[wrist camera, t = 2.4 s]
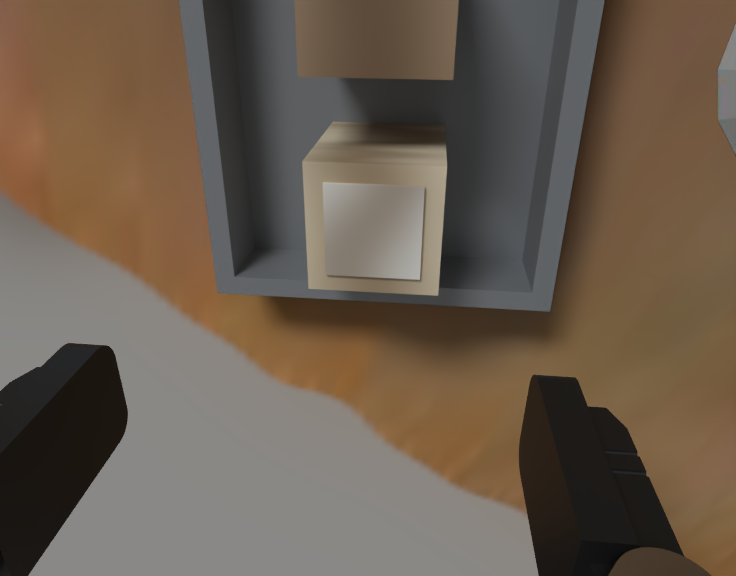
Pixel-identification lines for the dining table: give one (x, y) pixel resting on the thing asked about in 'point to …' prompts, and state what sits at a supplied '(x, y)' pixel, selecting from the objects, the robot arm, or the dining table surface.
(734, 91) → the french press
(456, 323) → the dining table surface
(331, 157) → the beige box with label
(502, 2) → the parts bin
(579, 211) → the dining table surface
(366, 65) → the walnut block
